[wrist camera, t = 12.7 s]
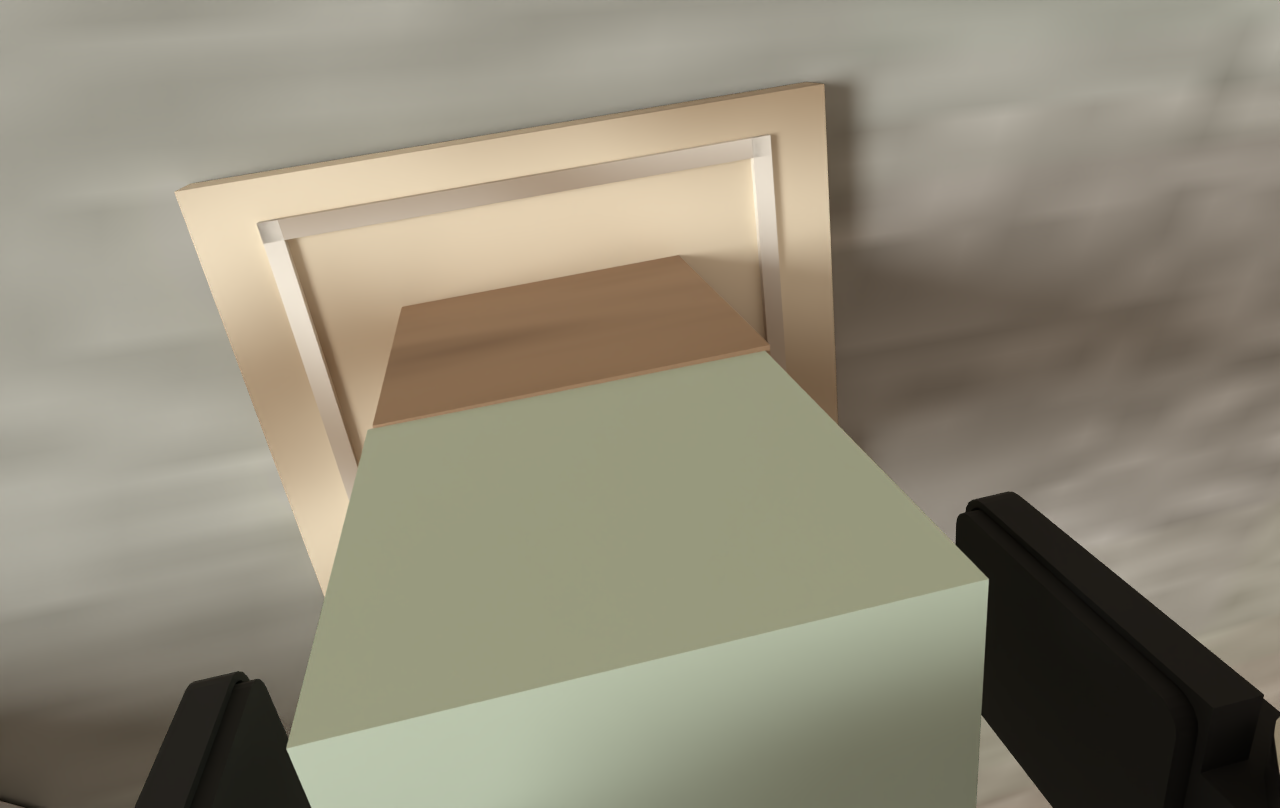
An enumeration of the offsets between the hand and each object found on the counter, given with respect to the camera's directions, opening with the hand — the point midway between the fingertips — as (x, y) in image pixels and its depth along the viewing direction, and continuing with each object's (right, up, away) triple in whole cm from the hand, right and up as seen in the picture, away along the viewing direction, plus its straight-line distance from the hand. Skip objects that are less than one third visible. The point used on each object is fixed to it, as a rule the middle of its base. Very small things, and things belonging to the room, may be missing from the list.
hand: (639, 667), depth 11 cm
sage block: (-1, +1, +3) cm, 3 cm away
